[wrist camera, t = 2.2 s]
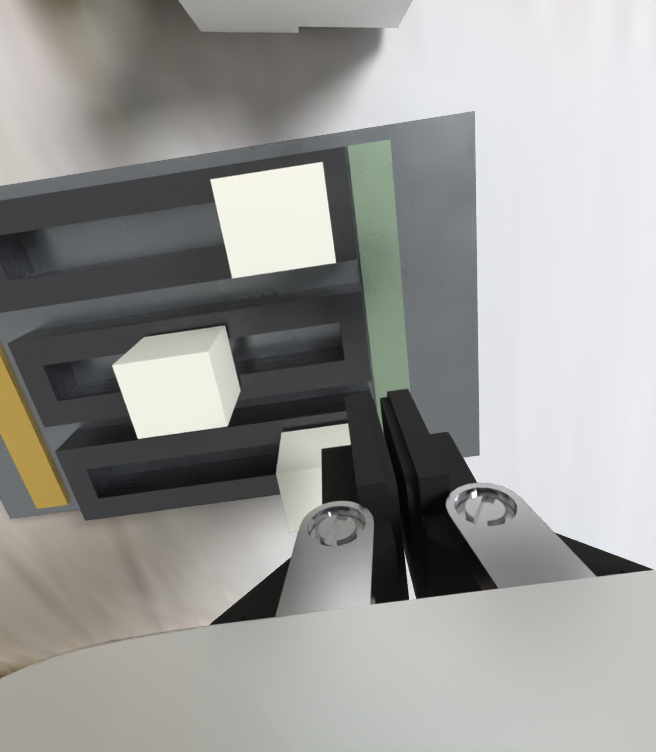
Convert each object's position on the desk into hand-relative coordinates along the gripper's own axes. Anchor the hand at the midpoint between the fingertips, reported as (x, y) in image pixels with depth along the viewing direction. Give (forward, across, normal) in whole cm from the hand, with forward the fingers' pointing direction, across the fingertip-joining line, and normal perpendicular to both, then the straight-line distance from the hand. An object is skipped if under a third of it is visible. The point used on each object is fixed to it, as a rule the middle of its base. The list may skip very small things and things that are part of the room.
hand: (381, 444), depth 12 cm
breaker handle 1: (+8, +2, -6) cm, 10 cm away
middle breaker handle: (+8, +7, -1) cm, 11 cm away
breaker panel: (+10, +7, -1) cm, 12 cm away
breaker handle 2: (+9, +2, +4) cm, 10 cm away
